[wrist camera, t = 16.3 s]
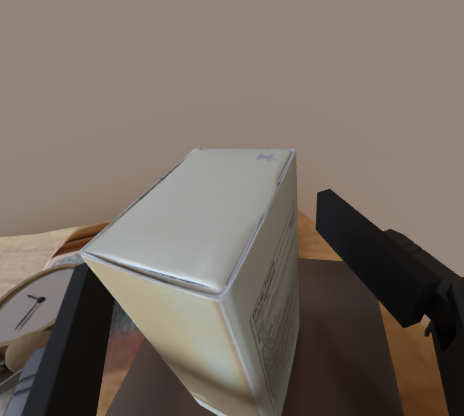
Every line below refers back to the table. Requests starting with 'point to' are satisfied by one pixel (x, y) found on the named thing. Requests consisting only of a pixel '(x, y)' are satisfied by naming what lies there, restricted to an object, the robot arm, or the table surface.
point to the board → (297, 357)
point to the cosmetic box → (213, 274)
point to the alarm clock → (30, 317)
